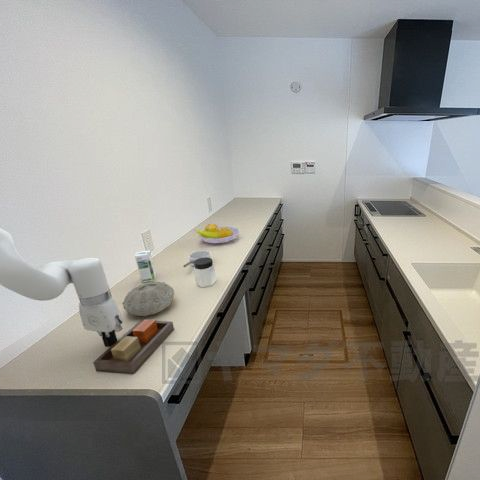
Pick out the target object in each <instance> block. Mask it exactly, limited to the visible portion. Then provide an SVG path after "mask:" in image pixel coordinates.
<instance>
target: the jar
mask: <svg viewBox="0 0 480 480" xmlns="http://www.w3.org/2000/svg"><path fill="white" fill-rule="evenodd" d="M193 274H194V279H195V284H196V286H198V287H200V288H207V287H212V286H213V285H214V284H215V283H216V282H217V277H216V269H215V264H214V262H213V258H211V257H210V258H208V257H204V258H199V259H197V260H195V261H194V266H193Z"/></svg>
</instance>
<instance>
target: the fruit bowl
mask: <svg viewBox="0 0 480 480" xmlns="http://www.w3.org/2000/svg"><path fill="white" fill-rule="evenodd" d="M194 231H195V233H196V234H198V237H199V238H200V239H201V240H202V241H203V242H205V243H208V244H226V243H228V242H231V241H233V240H235V239H236V238H237V237H238V235H239V234H240V230H239V228H237V227H233V226H218V225H217V224H215V223H207V225H206V226H204V230H197V229H195V228H194Z"/></svg>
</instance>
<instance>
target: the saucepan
mask: <svg viewBox="0 0 480 480" xmlns="http://www.w3.org/2000/svg"><path fill="white" fill-rule="evenodd" d="M211 254H212V253H211V252H210V250H209V251H208V250H198V251H193V252H191V253H189V254H188V259H189V261H188V262H187V263H185V264H183V266H182V267H183V268H186V267H189V265H190V266H192V267H194V261H195V260H197V259H199V258H204V257H208V258H211Z"/></svg>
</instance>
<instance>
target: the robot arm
mask: <svg viewBox="0 0 480 480" xmlns="http://www.w3.org/2000/svg"><path fill="white" fill-rule="evenodd" d="M70 284H72V285H73V287H74V290H75V293H76V295H77V298H78V300H79V303H78V311H79V316H80V320H81V323H82V327H83V329H84V330H86V331H90V332H97V334H98V336H99V337H100V338H101V340H102V342H103V345H104V347H106V348H110V347H111V346H112V345H113V344H114V343H115V342H117V341H118V338H117V335H116V333H119V332H121V331H122V330H123V329H124V328H123V326H122V324H123V323H124V321H123V317H122V313H121V311H120V308H119V307H118V304H117V302H116V301H115V299H114V297H113V296H112V292H111V289H110V286H109V282H108V280H107V276H106V273H105V269H104V265H103V263H102V261H101V260H100V259H99V258H97V257H84V258H80V259H77V260H56V261H55V260H54V261H50V262H46V263H44V264H43V265H41V266H40V267H39V268H37V267H35V266H34V265H32V264H31V263H29V262H27V261H26V260H25V259H24V257H22V256H21V255H20V253H19V252H18V250H17V248H16V244H15V240H14V238H13V236H12V234H11V233H10V232H9V231H7V230H5V229H3V228H2V227H0V286H2V287H4V288H6V289H7V290H10V291H12V292H14V293H16V294H18V295H20V296H23V297H25V298H28V299H30V300H34V301H42V302H44V301H45V302H46V301H51V300H54V299H57V298H58V297H59V296H61V295H62V294H63V293H64V292H65V290H66V288H67V287H68V285H70Z"/></svg>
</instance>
